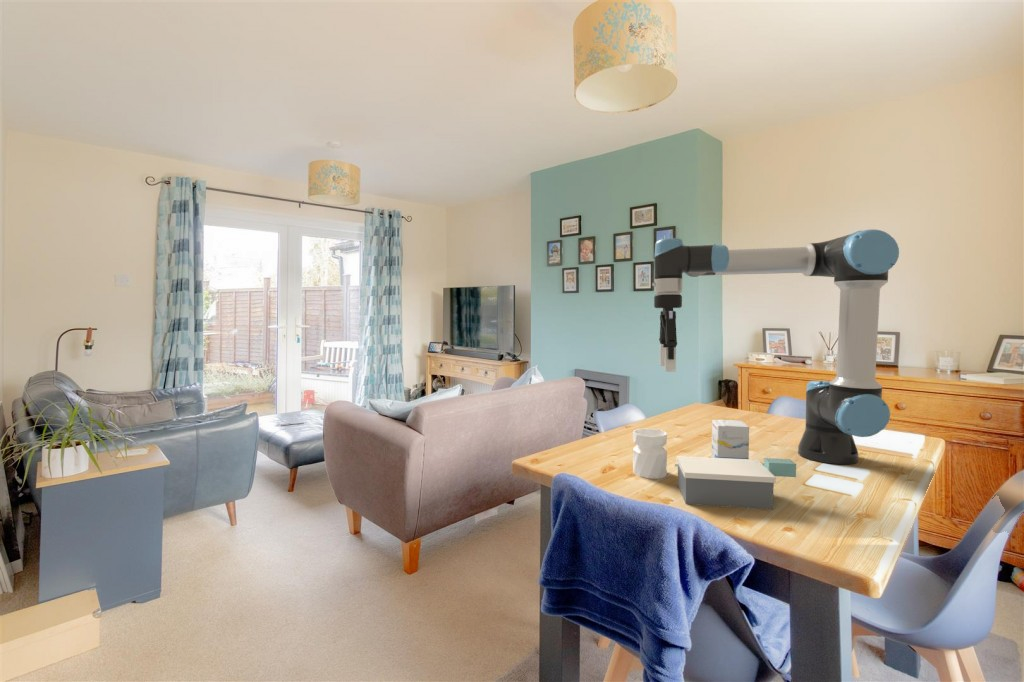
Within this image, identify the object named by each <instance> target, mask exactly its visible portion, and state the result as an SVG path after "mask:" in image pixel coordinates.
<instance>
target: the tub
mask: <svg viewBox="0 0 1024 682" xmlns="http://www.w3.org/2000/svg"><path fill="white" fill-rule="evenodd" d="M774 484H775V483H769V482H751V481H733V480H714V479H696V478H685V477H684V475H683V473H682V471H681V469H680V467H679V465H678V467H677V486H678V489H679V492H680V494H681V496H682V498H683V501H684V503H685V505H695V506H696V505H697V506H709V507H710V506H711V507H723V508H724V507H725V508H739V509H740V508H742V509H756V510H774Z"/></svg>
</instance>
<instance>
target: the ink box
mask: <svg viewBox="0 0 1024 682" xmlns="http://www.w3.org/2000/svg"><path fill="white" fill-rule="evenodd" d="M711 423H712V424H711V451H710V452H711V453H710V454H711V455H710V456H711V457H710V458H731V459H749V458H750V456H749V455H750V451H749V450H750V426H748V424H746V423H745V422H744V421H743V420H734V419H733V420H732V419H712V420H711Z"/></svg>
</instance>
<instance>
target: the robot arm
mask: <svg viewBox="0 0 1024 682" xmlns="http://www.w3.org/2000/svg"><path fill="white" fill-rule="evenodd" d="M899 248H900V247H899V245H898V243H897V241H896V239H895V238H894V237H893V236H892V235H891V234H889V233H888V232H886V231H883V230H880V229H875V228H874V229H871V228H869V229H864V230H863V229H862V230H858V231H855V232H853V233H850V234H847V235H843V236H840V237H836V238H833V239H830V240H825V241H822V242H821V241H820V242H812V243H811V242H810V243H809V242H808V243H805V245H803V246H798V247H773V248H772V247H771V248H769V247H768V248H767V247H766V248H765V247H764V248H746V249H745V248H743V249H729V248H728V246H726V245H725V244H705V245H704V244H703V245H684V241H683V239H681V238H679V237H678V238H677V237H676V238H675V237H671V238H670V237H669V238H661V239H658V240H657V241H656V242H655V244H654V256H653V258H654V261H653V262H654V264H653V265H654V282H652V287H654V294H655V295H654V298H653V299H654V300H653V307H654V308H655V309H662V310H661V311H660V315H659V320H660V323H659V324H660V325H659V326H660V327H659V328H660V329H659V339H658V340H659V367H664V372H676V371H677V370H676V369H677V368H676V367H677V364H676V363H677V361H676V360H677V356H676V354H677V348H676V347H677V346H678V342H677V341H678V340H677V339H678V338H677V337H678V336H677V322H676V321H677V312H676V310H674V309H680V308H681V309H682V307H683V295H682V294H681V293H683V273H684V274H685V275H686V276H689V277H691V278H692V277H693V278H694V277H699V276H701V277H703V276H704V277H705V276H728V275H729V276H730V275H733V276H734V275H735V276H736V275H767V274H769V275H771V274H773V275H774V274H802V275H803V276H804V277H827V278H833V283H834V285H835V286H837V287H838V288H839V289H840V290H839V291H840V292H839V294H840V295H839V313H838V331H837V333H838V334H837V353H836V376H835V377H834V378H833V379H831V380H810V381H808V382H807V384H806V389H805V390H806V391H805V394H806V395H805V396H806V397H805V430H804V431H803V434H802V437H801V439H800V441H799V443H798V445H797V446H798V449H797V454H798V455H799V456H801V457H803V458H805V459H808V460H810V461H815V462H820V463H826V464H834V465H837V464H838V465H851V464H852V465H853V464H856V463H858V462H859V451H858V448H857V445H856V443H855V442H856V441H855V440H854V437H857V438H858V437H859V438H868V437H873V436H875V435H877V434H878V433H880V432H881V431H883V430H884V429H885V428H886V427H887V425H888V424H889V421H890V419H891V411H890V410H891V409H890V407H889V405H888V404H887V403H886V401H885V400H884V399H883V398H882V396H883V395H882V394H883V386H882V385H881V384H880V383H879V382H878V381H877V380H876V374H877V372H876V371H877V368H876V367H877V355H878V354H877V351H878V350H877V349H878V332H879V314H880V295H881V294H880V293H881V288H883V286H885V285H886V284H888V282H889V270H891V269H892V268H893V267H894V266H895V265H896V263H897V262H898V259H899V258H900V257H899V256H900V249H899Z"/></svg>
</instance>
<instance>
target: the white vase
mask: <svg viewBox="0 0 1024 682" xmlns="http://www.w3.org/2000/svg"><path fill="white" fill-rule="evenodd" d="M667 440H668V433H667V432H666V431H664V430H661V429H656V428H637V429H634V430H633V431H632V441H633V442H634V444H636V446H634V447H633V450H632V451H633V452H632V471H633V474H634V475H636V476H638V477H640V478H645V479H657V480H658V479H662V478H663V479H664V478H666V476H667V474H668V472H667V471H668V470H667V469H668V468H667V465H668V464H667V462H668V451H667V449H665V448H664V446H666V445H667V444H668V443H667Z"/></svg>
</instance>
